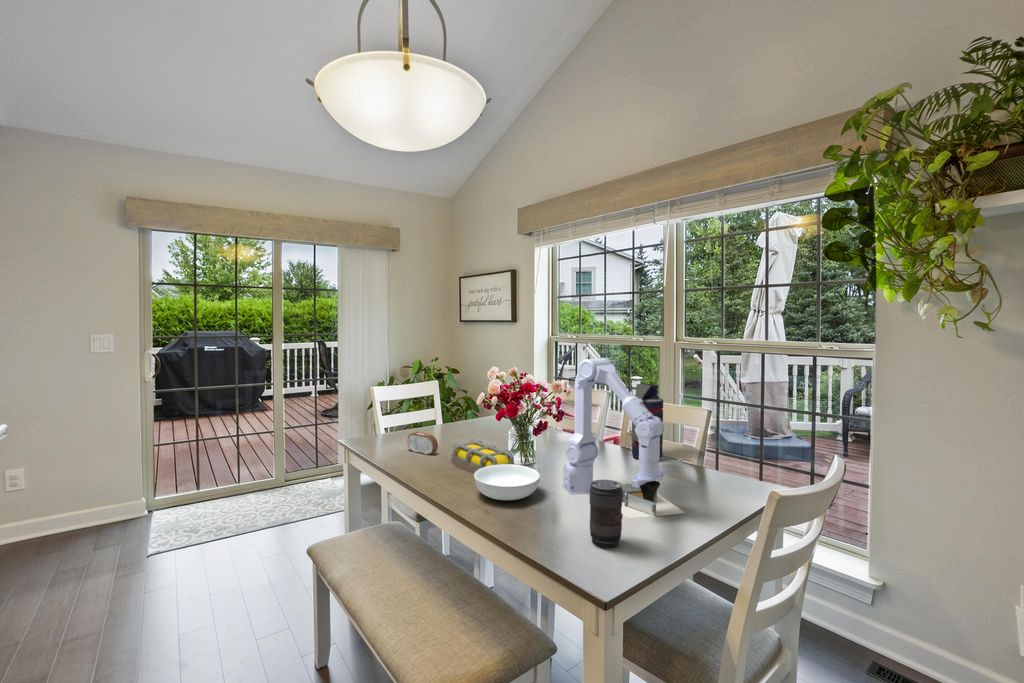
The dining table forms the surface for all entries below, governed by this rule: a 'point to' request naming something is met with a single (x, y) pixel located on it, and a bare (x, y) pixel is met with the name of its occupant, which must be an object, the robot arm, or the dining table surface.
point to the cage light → (479, 456)
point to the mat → (661, 509)
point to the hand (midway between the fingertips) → (648, 505)
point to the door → (640, 503)
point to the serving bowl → (507, 481)
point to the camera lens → (605, 513)
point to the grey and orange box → (633, 492)
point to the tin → (422, 442)
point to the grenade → (653, 405)
